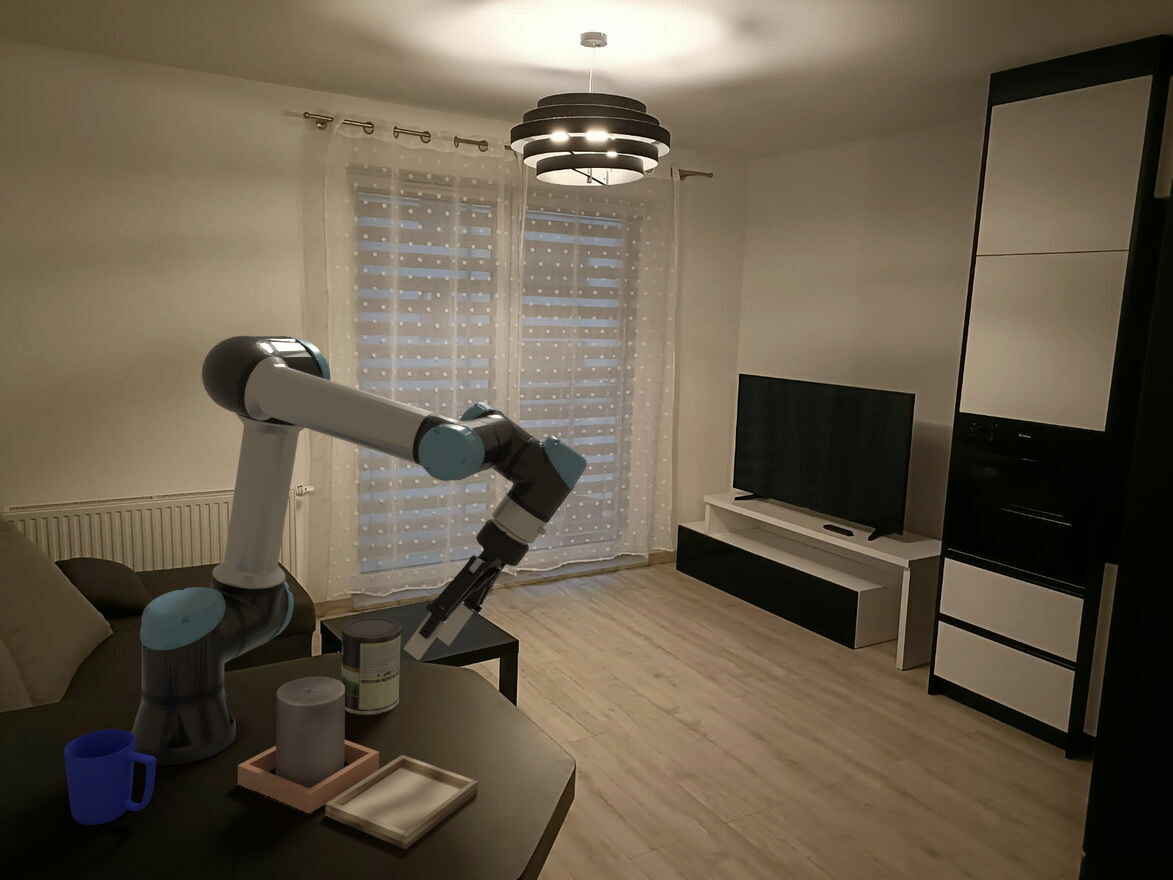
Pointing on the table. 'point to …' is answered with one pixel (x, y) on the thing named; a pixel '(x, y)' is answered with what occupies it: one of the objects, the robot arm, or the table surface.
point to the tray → (401, 800)
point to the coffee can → (371, 665)
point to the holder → (300, 797)
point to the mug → (104, 776)
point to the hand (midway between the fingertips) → (427, 647)
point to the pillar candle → (310, 730)
